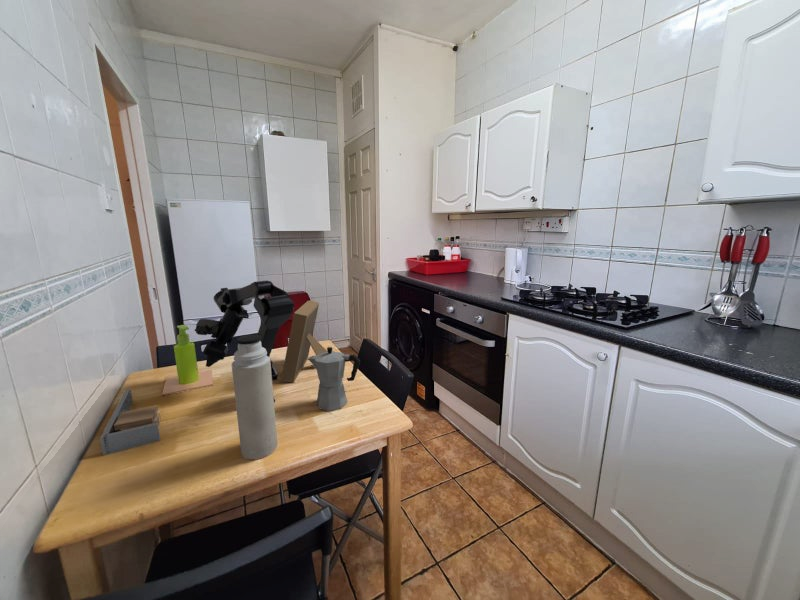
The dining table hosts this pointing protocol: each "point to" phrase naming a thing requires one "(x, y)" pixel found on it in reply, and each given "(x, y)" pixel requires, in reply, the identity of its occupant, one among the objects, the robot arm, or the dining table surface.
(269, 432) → the thermos bottle
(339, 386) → the coffeepot
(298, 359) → the photo frame
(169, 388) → the terracotta tile
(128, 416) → the walnut offcuts
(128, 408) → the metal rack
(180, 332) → the soap dispenser
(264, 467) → the dining table surface
